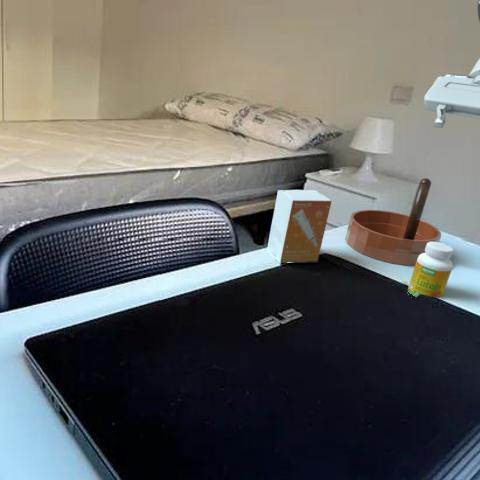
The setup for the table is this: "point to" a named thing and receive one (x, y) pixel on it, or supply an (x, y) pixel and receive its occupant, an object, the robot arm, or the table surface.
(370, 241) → the bowl
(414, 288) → the supplement bottle
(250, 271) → the table surface
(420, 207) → the dark brown wooden dowel
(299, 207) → the small box
